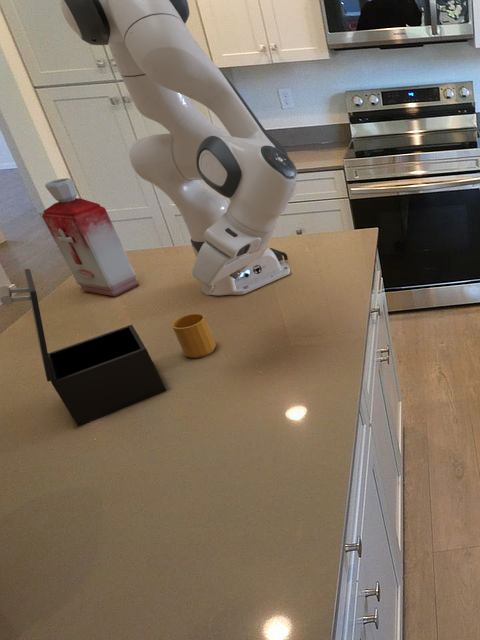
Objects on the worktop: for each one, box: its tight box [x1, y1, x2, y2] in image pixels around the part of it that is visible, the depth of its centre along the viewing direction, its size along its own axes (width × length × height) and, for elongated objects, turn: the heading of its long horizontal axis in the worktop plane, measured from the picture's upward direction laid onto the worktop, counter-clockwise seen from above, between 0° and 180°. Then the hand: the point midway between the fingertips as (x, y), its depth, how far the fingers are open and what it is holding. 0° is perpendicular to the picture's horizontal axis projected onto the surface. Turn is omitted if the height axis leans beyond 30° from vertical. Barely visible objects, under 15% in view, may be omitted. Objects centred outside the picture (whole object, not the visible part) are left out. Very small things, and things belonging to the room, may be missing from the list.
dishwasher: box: [48, 324, 167, 427], centre depth 110 cm, size 16×14×10 cm
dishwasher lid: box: [0, 268, 53, 382], centre depth 99 cm, size 16×14×5 cm
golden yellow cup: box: [171, 312, 217, 359], centre depth 122 cm, size 6×6×8 cm
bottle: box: [41, 177, 140, 297], centre depth 151 cm, size 14×10×30 cm
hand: (220, 283), depth 114 cm, fingers open, 8 cm apart
